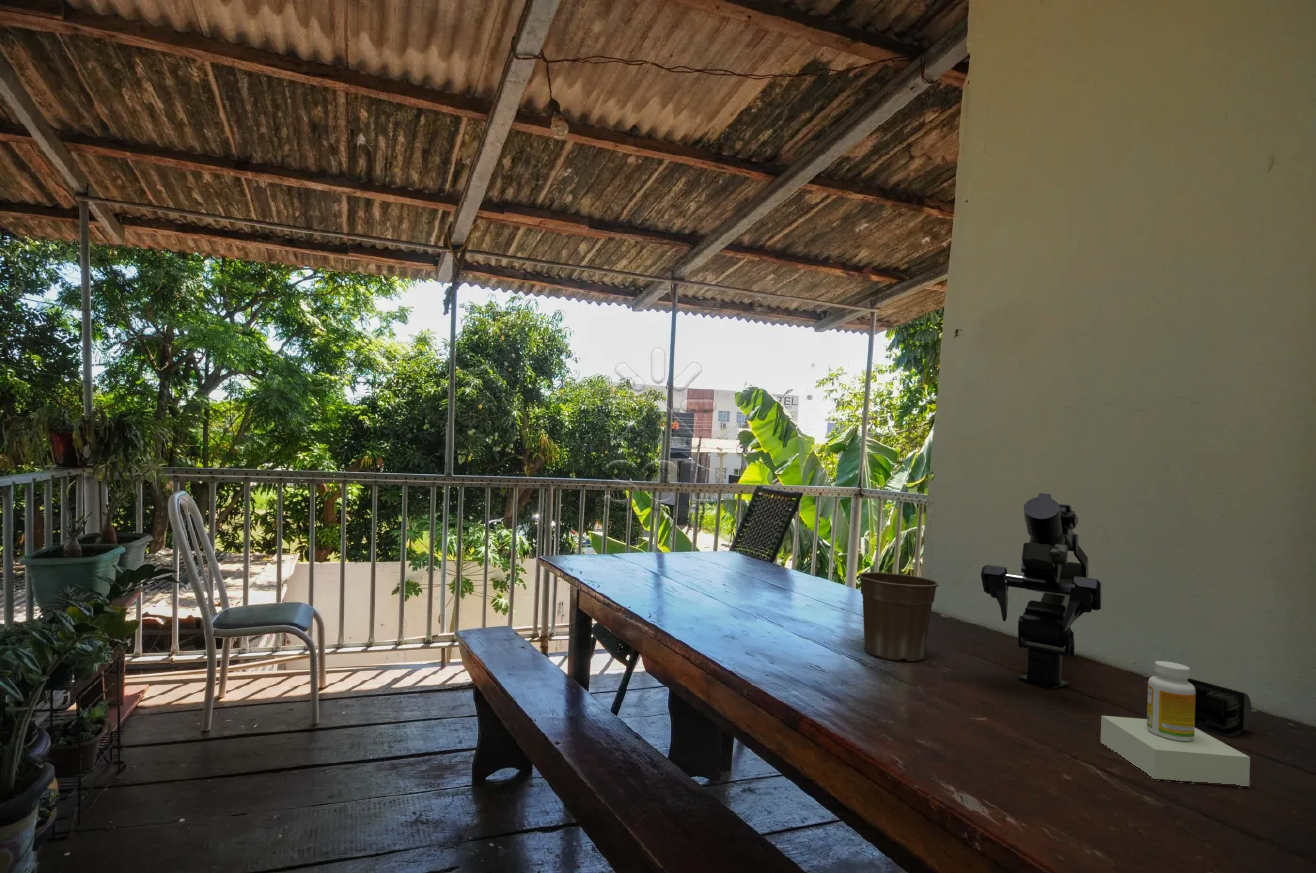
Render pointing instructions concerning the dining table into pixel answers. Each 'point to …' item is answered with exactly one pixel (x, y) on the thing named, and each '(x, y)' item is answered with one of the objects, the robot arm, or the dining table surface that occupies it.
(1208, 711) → the end cap
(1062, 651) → the robot arm
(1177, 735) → the supplement bottle
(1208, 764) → the plinth
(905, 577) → the plant pot
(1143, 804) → the dining table surface
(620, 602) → the dining table surface
